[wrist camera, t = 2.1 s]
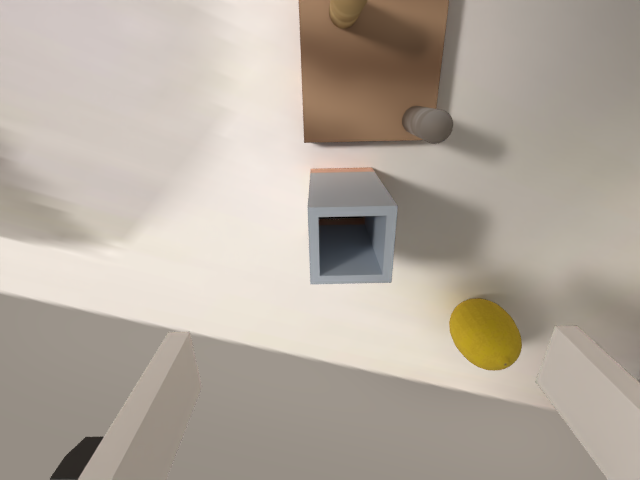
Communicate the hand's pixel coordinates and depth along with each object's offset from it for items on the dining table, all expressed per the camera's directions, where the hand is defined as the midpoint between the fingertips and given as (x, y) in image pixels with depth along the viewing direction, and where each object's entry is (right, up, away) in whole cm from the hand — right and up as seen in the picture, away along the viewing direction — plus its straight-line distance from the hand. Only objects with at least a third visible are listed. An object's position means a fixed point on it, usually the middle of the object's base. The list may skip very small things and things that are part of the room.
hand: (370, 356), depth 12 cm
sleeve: (0, +8, +17) cm, 19 cm away
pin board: (+2, +18, +12) cm, 22 cm away
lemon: (+13, -2, +22) cm, 26 cm away
